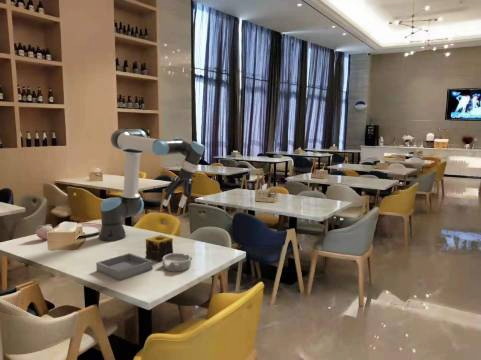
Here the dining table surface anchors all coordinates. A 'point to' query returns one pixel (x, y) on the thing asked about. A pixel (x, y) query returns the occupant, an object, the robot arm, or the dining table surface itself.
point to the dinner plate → (91, 228)
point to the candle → (158, 247)
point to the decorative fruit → (43, 231)
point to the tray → (124, 266)
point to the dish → (176, 261)
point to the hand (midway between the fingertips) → (172, 206)
